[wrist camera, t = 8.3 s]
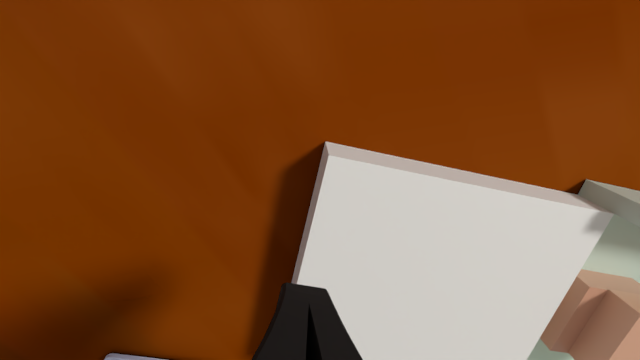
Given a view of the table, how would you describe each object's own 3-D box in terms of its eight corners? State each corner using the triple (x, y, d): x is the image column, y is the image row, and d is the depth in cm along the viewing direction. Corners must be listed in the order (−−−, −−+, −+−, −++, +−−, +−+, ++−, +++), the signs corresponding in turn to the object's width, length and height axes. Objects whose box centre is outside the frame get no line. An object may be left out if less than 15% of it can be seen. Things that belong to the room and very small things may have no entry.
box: (627, 392, 27) (680, 447, 23) (480, 373, 25) (511, 430, 21) (764, 218, 21) (862, 254, 18) (586, 179, 20) (652, 209, 16)
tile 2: (635, 361, 22) (666, 390, 20) (568, 352, 21) (593, 381, 19) (680, 301, 20) (719, 326, 18) (608, 289, 19) (641, 314, 18)
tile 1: (593, 335, 24) (618, 360, 22) (530, 326, 23) (550, 350, 21) (631, 278, 22) (662, 299, 20) (564, 266, 21) (589, 287, 19)
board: (485, 364, 25) (504, 396, 22) (278, 337, 23) (275, 369, 20) (577, 194, 20) (614, 213, 18) (325, 141, 18) (328, 155, 16)
